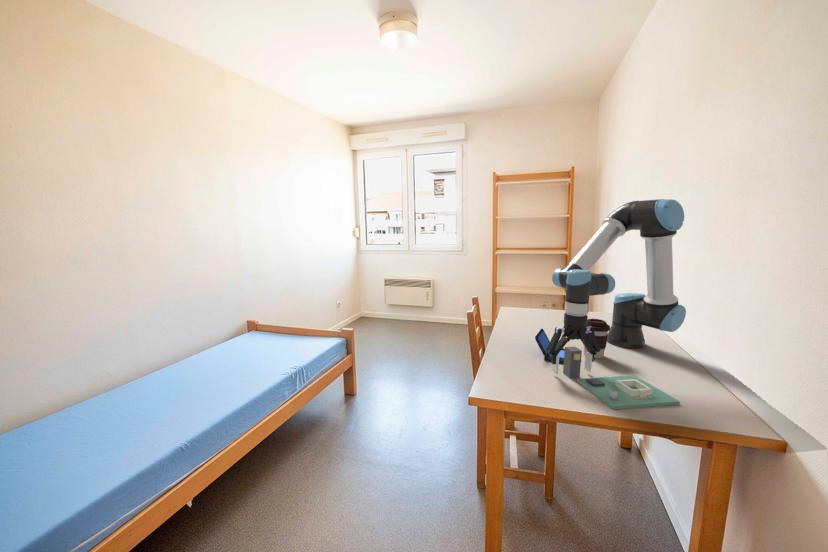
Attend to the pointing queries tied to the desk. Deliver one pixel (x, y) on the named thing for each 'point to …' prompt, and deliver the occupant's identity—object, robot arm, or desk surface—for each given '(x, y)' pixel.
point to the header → (640, 392)
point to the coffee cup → (598, 335)
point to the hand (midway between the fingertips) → (571, 371)
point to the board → (620, 399)
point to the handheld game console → (543, 344)
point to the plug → (572, 362)
